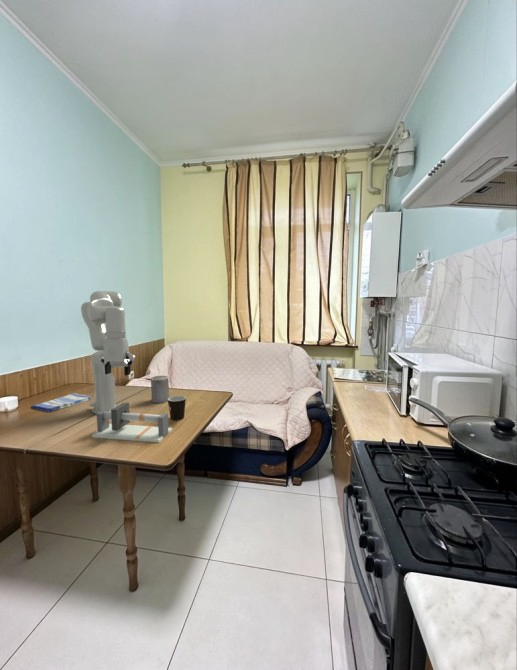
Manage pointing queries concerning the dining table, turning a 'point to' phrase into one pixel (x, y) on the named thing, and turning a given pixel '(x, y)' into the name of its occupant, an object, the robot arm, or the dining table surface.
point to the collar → (116, 417)
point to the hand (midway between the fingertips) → (117, 374)
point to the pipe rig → (133, 427)
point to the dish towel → (61, 402)
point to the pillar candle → (160, 389)
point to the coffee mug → (177, 407)
